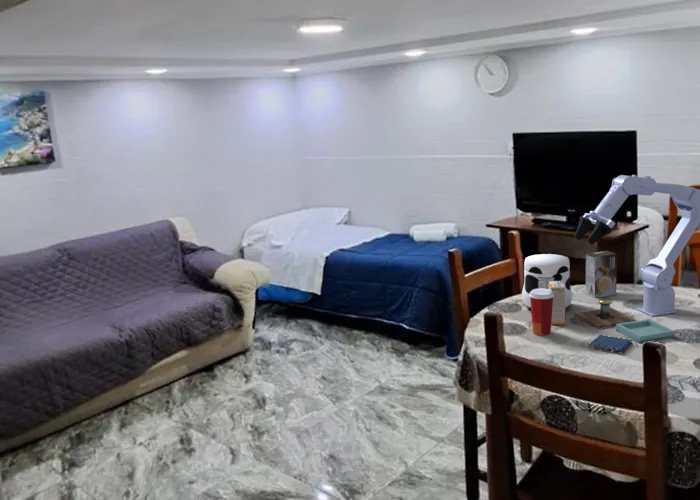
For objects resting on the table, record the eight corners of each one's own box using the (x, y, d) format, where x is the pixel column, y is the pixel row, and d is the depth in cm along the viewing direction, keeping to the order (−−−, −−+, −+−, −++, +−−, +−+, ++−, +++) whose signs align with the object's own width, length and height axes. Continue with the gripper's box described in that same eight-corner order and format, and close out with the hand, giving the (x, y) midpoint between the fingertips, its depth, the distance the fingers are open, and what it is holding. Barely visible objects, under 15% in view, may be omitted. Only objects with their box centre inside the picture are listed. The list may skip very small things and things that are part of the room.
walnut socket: (611, 310, 228) (611, 307, 228) (636, 322, 215) (636, 319, 215) (574, 315, 225) (574, 312, 225) (598, 328, 212) (598, 325, 212)
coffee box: (606, 290, 250) (607, 250, 246) (616, 295, 244) (617, 253, 240) (584, 293, 248) (585, 252, 244) (594, 298, 242) (595, 256, 238)
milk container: (551, 297, 247) (551, 251, 243) (582, 309, 231) (583, 260, 227) (512, 305, 241) (511, 257, 237) (541, 318, 225) (541, 268, 221)
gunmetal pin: (606, 316, 223) (607, 297, 221) (614, 320, 218) (615, 301, 217) (595, 318, 222) (595, 299, 220) (602, 322, 218) (603, 303, 216)
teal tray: (648, 325, 212) (648, 318, 211) (674, 337, 200) (674, 331, 200) (615, 330, 210) (615, 324, 209) (639, 343, 198) (639, 336, 198)
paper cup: (554, 328, 215) (554, 288, 211) (553, 337, 208) (553, 295, 204) (529, 327, 217) (529, 287, 214) (528, 336, 210) (527, 294, 207)
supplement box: (565, 324, 218) (565, 287, 215) (550, 324, 219) (550, 287, 216) (562, 316, 225) (562, 280, 222) (548, 316, 226) (548, 280, 223)
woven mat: (598, 339, 205) (598, 333, 205) (633, 345, 198) (633, 338, 198) (586, 350, 197) (586, 343, 197) (622, 356, 191) (622, 350, 190)
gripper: (587, 197, 217) (562, 229, 218) (613, 203, 203) (587, 238, 204) (601, 209, 219) (577, 241, 220) (628, 216, 206) (602, 250, 206)
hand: (582, 240), depth 212 cm, fingers open, 7 cm apart
